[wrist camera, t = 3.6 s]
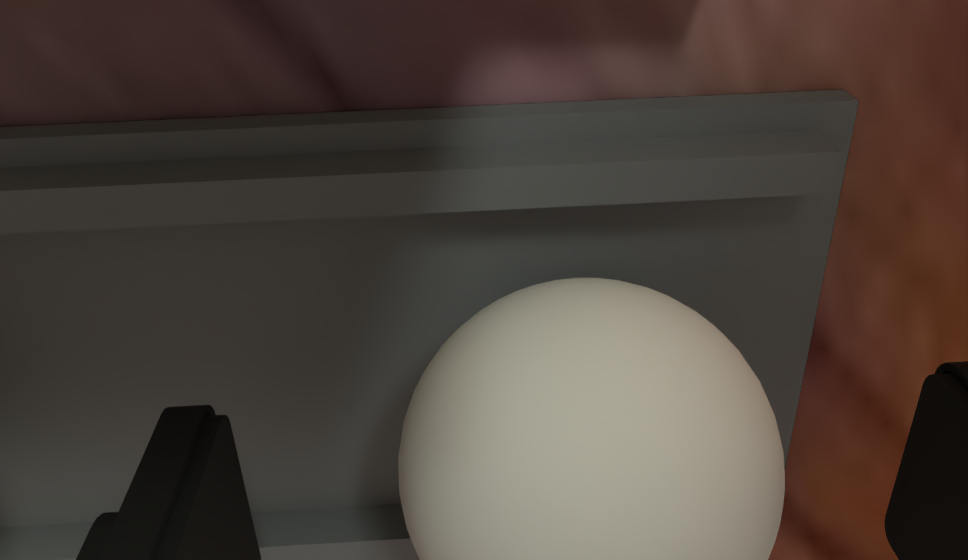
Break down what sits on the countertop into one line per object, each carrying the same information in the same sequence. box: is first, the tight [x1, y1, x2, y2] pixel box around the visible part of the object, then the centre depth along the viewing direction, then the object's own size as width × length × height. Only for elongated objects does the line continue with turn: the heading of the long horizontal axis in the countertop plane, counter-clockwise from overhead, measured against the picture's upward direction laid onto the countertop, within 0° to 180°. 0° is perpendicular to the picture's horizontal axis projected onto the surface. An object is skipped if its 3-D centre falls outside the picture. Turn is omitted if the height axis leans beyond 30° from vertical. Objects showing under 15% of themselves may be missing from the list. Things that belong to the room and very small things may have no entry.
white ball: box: [398, 278, 785, 560], centre depth 11 cm, size 5×5×5 cm
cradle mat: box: [0, 89, 859, 560], centre depth 13 cm, size 19×8×1 cm, turn 92°
